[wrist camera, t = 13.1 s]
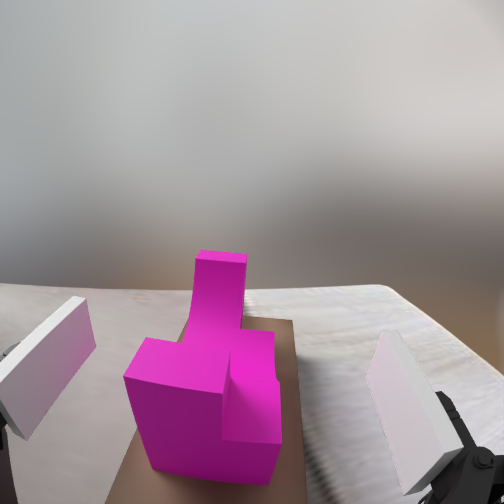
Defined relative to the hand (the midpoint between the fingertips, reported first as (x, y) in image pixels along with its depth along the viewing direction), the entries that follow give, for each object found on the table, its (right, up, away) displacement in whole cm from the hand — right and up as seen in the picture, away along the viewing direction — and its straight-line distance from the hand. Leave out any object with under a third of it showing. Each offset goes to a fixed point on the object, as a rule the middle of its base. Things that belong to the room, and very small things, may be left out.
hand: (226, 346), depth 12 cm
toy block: (-1, -6, +7) cm, 9 cm away
